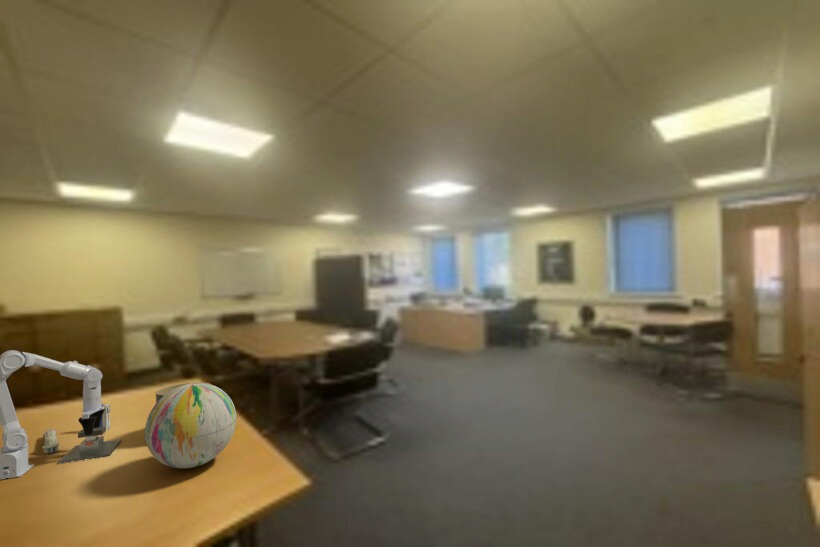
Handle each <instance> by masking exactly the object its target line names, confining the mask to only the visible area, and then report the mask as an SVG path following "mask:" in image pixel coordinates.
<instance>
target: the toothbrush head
mask: <svg viewBox="0 0 820 547" xmlns="http://www.w3.org/2000/svg"><path fill="white" fill-rule="evenodd" d="M42 439H43V440H44V445H43V446H41V447H42V451H43V454H52V453H55V452H57V451H59V446H60V442H58V437H57V431H56V430H55V429H54V428H51V429H47V430H45V431H44V432H43V434H42Z"/></svg>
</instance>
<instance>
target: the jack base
mask: <svg viewBox="0 0 820 547" xmlns="http://www.w3.org/2000/svg"><path fill="white" fill-rule="evenodd" d="M104 438H105V437H104V435H98V439H97V440H96V441H89V442H86V438H84V439H83V440H82V441H81V442H80V443H79V444H78V445H74V447H73V448H71V449H70V450H69V451H68V452H67V453H66V454H65V455H64V456H62V457H61V459H59V460H58V465H60V464H59V463H62V464H65V463H64V462H69V463H72V462H71V461H75V462H79V461H78V460H82V461H86V460H85V459H89V460H93V459H92V458H95V459H101V458H100V457H102V458H107V456H109V457H111V456H112V454H113V453H114V452H115V450H116V449H117V448H118V447H119V446H120V444H121V443H122V442H123V440H122V438H121V439H114V440H107V441H106V440H105V441H104ZM117 446H118V447H117ZM112 452H113V453H112Z"/></svg>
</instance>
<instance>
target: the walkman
mask: <svg viewBox="0 0 820 547" xmlns="http://www.w3.org/2000/svg"><path fill="white" fill-rule="evenodd" d="M101 407H105V408H104V409H105V411H104V413H103V415H102V418H101V422H100V426H99V427H106V430H107V431H109V430H110V429H111V403H107V404H105V403H104V404H103V403H101ZM108 429H109V430H108Z"/></svg>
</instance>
